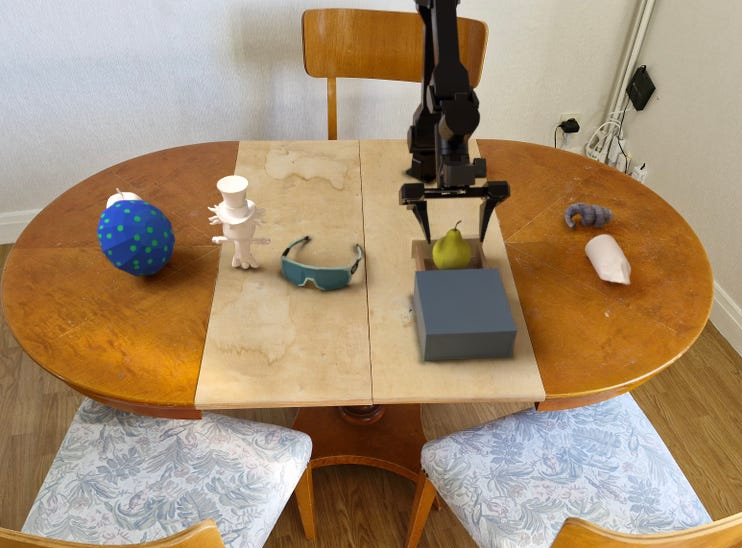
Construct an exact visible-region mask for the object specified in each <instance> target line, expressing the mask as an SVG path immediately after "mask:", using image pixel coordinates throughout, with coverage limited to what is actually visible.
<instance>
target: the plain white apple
mask: <svg viewBox="0 0 742 548" xmlns="http://www.w3.org/2000/svg"><path fill="white" fill-rule="evenodd" d="M115 190H116V192H117V193H115V194H113V195H111V196H110V197H109V198H108V200H107V203H106V209H107V208H108V207H109V206H111V205H112V204H113V203H115V202H116V201H120V200H143V199H142V197H140V196H139V195H138V194H136V193H135V192H129V191H128V192H127V191H126V192H125V191H124V192H123V191H122V192H121V190H120V189H119V188H118V187H117V188H115Z"/></svg>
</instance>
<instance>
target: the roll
mask: <svg viewBox="0 0 742 548" xmlns="http://www.w3.org/2000/svg"><path fill="white" fill-rule="evenodd" d="M584 252H585V254H586V256H587V257H588V259H589V261H590V263H591V264H592V266H593V268H594V270H595V272H596V274H597V276H598V277H599V280H601V281H606V282H610V283H618V284H622V285H625V286H630V285H631V280H630V276H631V272H632V267H631V264H630V262H629V260H628V258H627V257H626V255H625V254H624V251H623V249H622V248H621V246H619V244H618V242H617V240H616V239H615V238H614V237H613V236H612V235H609V234H599V235H597V236H595V237H593V238H591V239H590V240H588V242H587V244H586V245H585V249H584Z"/></svg>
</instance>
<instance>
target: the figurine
mask: <svg viewBox="0 0 742 548" xmlns="http://www.w3.org/2000/svg"><path fill="white" fill-rule="evenodd" d="M248 186H249V181H248V180H247V178H245V177H244V176H241V175H228V176H224V177H222V178H220V179H219V180H218V181H217V183H216V188H217V190H218V191H219V192H220V194H221V196H222V199H223V201H221V202H220V203H219V204H218V205H216V204H214V207H210V206H207V209H208V210H209V211H210V212H212V213H215V214H216V215H214V216H212V217H208V220H209V221H210V223H208V224H209V225H211V226H214V225H218V224H219V225H221V224H222V233H223V236H221V235H219V236H213V237H212V239H211V241H212V243H214V244H216V245H219V244H220V245H221V244H233V245H234V250H235V253H234V254H233V258H232V262H231V266H232V268H233V267H234V268H236V267H240V265H241V267H242V269H245V270H247V269H248V268H249V267H252V268H258V267H259V266H260V265H259V263H258V261H257V260H256V258H255V256H254V255H253V253H252V252H251V244H252V245H260V246H267V245H270V244H271V238H267V237H255V238H254V236H255V233H256V230H257V227H259V228H262V227H263V226H264V225H262V224H267V223H268V221H267V220H264V219H263V218H262V217H265V214H264V213H265V212H266V209H264V208H265V207H264V206H262V207H257V205H256V203H255V202H254V201H252V200H250V199H247V189H248ZM240 260H243V262H241V264H240ZM248 260H249V262H250V264H249V262H248Z"/></svg>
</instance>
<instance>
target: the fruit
mask: <svg viewBox="0 0 742 548" xmlns="http://www.w3.org/2000/svg"><path fill="white" fill-rule="evenodd" d="M460 223H462V220H458V221H457V222H456V224H455V226H454V227H453V228H451V229H449V230H448V231H447V232H446V234H445V235H446V236H445V237H442V238H440V239H439V240H438V241H437V242H436V244H435V245H434V247H433V260H434V263H435V265H436V266H437V267H438V269H439V270H461V269H465V268H466V267H467V266H468V264H469V262H470V259H471V249H470V246H469V245H468V243H467V242H466V241H465V240H464V239H462V236H461V235H462V233H461V231H460V229H458V228H457V226H458V225H459V224H460Z"/></svg>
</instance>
